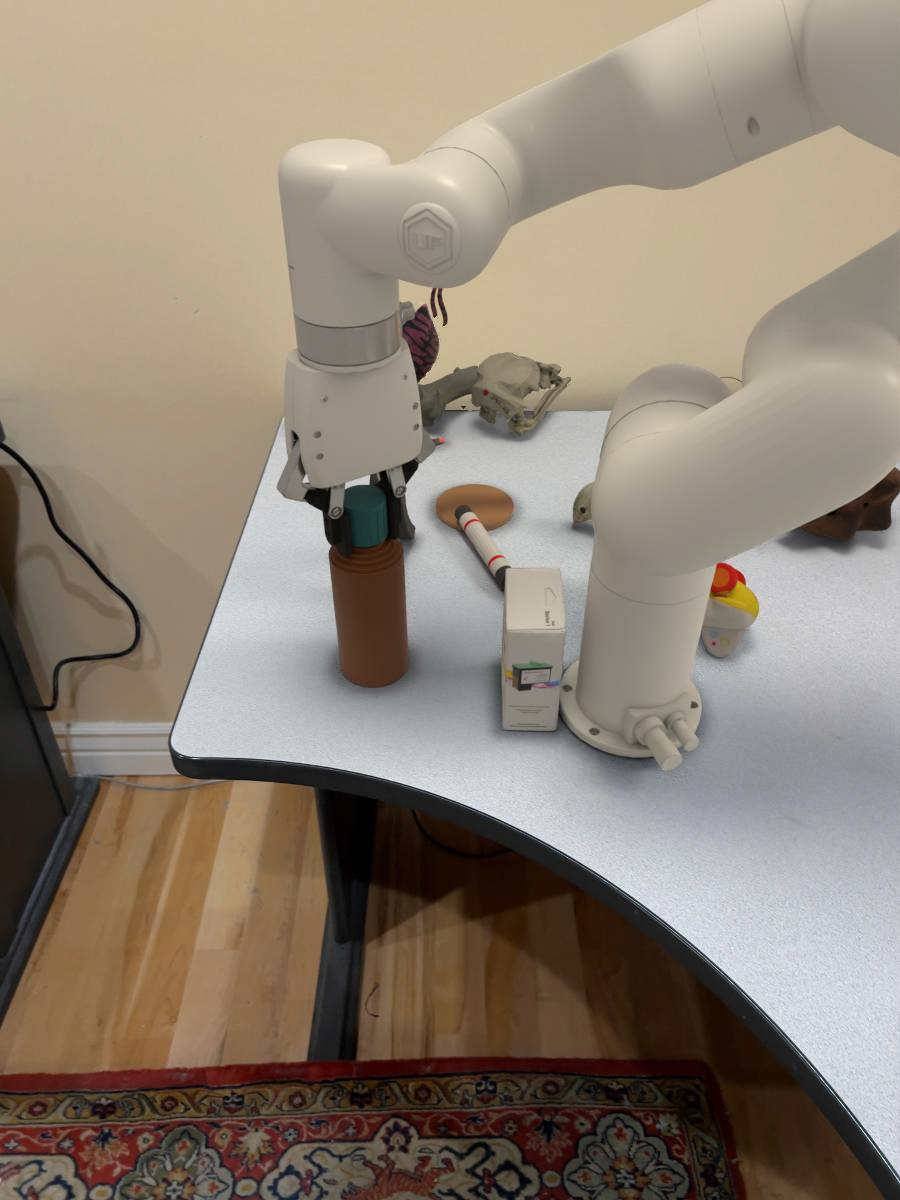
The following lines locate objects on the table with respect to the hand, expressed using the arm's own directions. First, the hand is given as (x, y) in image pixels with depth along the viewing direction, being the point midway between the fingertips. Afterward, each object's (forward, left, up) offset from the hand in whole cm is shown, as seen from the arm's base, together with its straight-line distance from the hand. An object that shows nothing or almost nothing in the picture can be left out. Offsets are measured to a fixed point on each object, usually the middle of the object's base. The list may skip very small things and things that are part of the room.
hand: (364, 537), depth 78 cm
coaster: (+21, -18, -14) cm, 31 cm away
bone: (+48, -23, -8) cm, 54 cm away
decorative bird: (+9, -33, -14) cm, 37 cm away
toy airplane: (-10, -34, -11) cm, 37 cm away
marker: (+11, -16, -14) cm, 24 cm away
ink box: (-9, -12, -15) cm, 21 cm away
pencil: (+36, -10, -13) cm, 40 cm away
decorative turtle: (-1, -54, -10) cm, 55 cm away
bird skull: (+43, -35, -15) cm, 57 cm away
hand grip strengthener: (+13, -6, -15) cm, 20 cm away
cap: (0, 0, 0) cm, 0 cm away
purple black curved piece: (+41, -12, -3) cm, 43 cm away
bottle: (0, 0, -14) cm, 14 cm away
